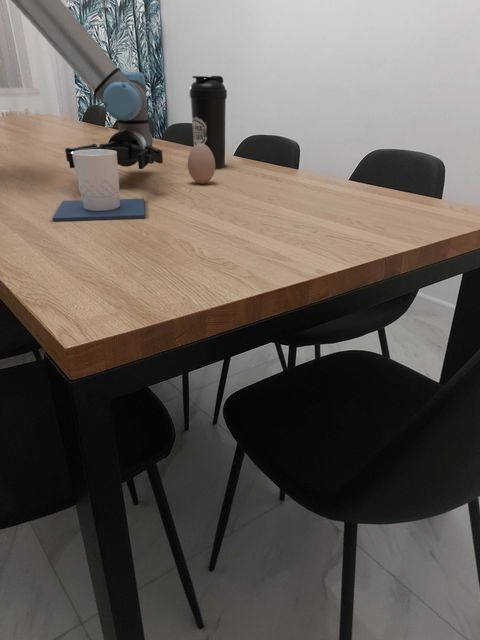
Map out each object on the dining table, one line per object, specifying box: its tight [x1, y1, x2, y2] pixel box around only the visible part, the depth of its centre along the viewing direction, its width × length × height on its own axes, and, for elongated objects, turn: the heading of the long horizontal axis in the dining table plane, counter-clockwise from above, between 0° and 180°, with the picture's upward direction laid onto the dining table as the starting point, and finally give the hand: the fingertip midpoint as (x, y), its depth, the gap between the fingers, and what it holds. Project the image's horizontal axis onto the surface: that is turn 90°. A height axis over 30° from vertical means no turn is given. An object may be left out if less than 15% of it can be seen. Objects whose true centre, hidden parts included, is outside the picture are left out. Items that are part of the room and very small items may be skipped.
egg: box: [187, 143, 216, 185], centre depth 120 cm, size 7×7×9 cm
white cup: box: [72, 149, 120, 211], centre depth 94 cm, size 8×8×10 cm
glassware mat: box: [52, 198, 146, 222], centre depth 97 cm, size 16×14×1 cm
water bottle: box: [188, 75, 228, 170], centre depth 139 cm, size 10×10×23 cm
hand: (105, 161), depth 99 cm, fingers open, 13 cm apart
